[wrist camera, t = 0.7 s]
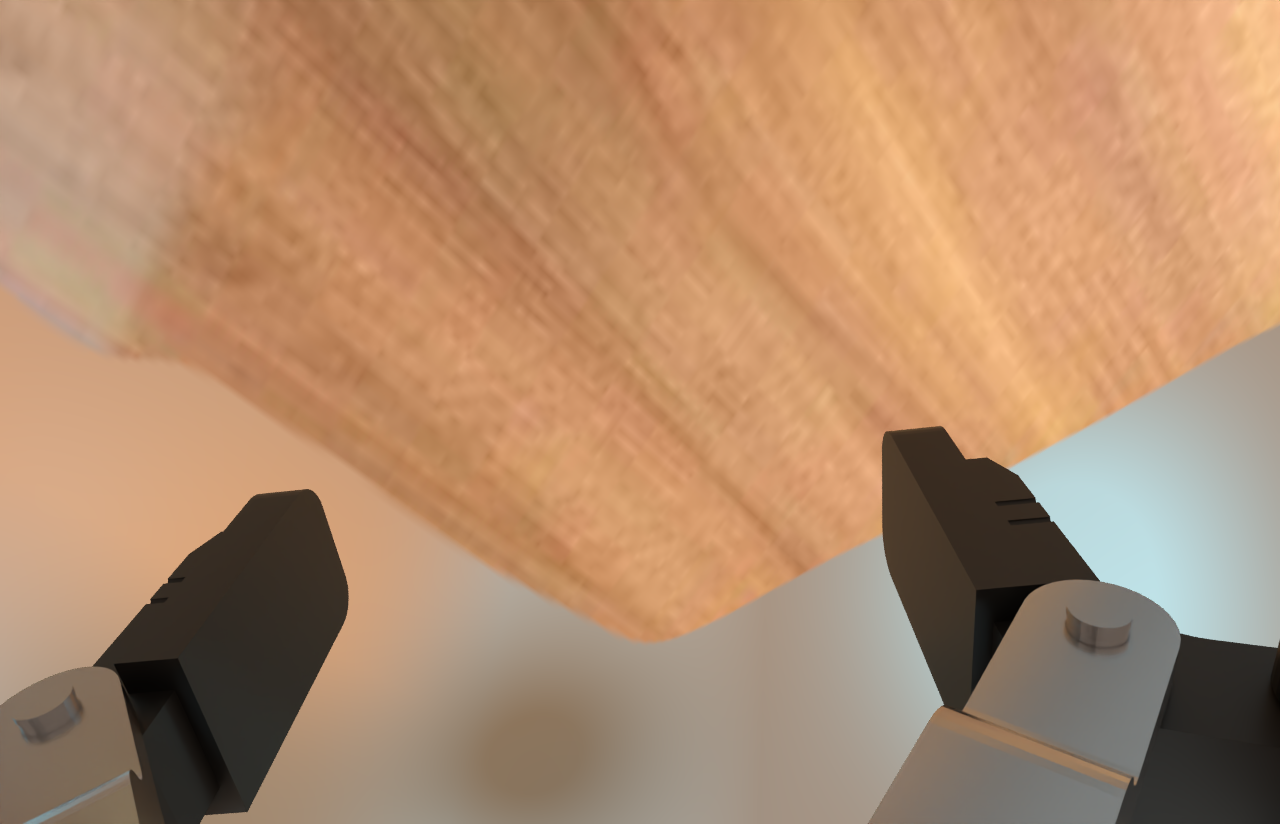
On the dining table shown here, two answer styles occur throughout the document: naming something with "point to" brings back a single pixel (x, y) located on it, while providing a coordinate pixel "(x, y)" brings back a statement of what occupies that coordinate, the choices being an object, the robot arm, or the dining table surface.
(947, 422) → the dining table surface
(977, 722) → the robot arm
